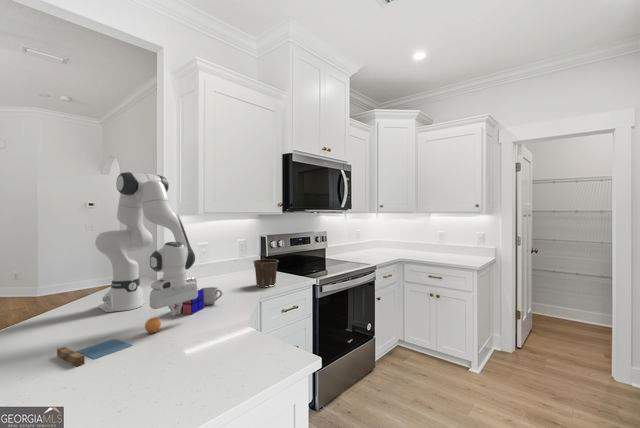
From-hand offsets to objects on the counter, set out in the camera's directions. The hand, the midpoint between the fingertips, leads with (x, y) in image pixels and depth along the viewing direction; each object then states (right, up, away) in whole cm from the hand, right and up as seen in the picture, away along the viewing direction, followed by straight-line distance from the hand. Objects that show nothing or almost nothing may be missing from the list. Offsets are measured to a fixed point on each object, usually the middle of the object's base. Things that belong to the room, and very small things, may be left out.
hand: (175, 314), depth 131 cm
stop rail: (-19, -5, -31) cm, 37 cm away
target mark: (-14, -5, -23) cm, 27 cm away
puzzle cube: (-3, -5, +20) cm, 20 cm away
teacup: (+3, -5, +31) cm, 32 cm away
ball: (-5, -2, -8) cm, 10 cm away
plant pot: (+25, -5, +73) cm, 77 cm away
